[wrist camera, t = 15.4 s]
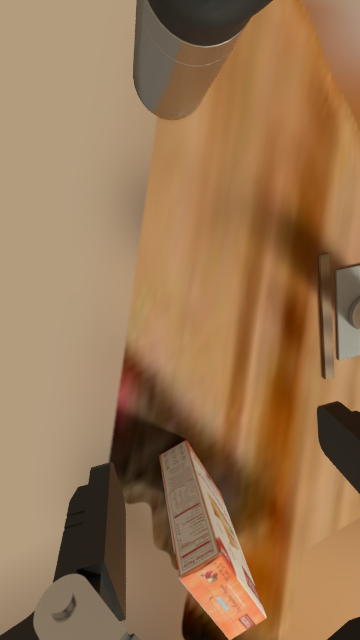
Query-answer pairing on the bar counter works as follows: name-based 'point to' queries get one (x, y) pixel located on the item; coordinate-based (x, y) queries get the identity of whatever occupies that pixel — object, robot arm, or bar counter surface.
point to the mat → (347, 311)
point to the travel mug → (355, 314)
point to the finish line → (326, 315)
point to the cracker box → (207, 544)
